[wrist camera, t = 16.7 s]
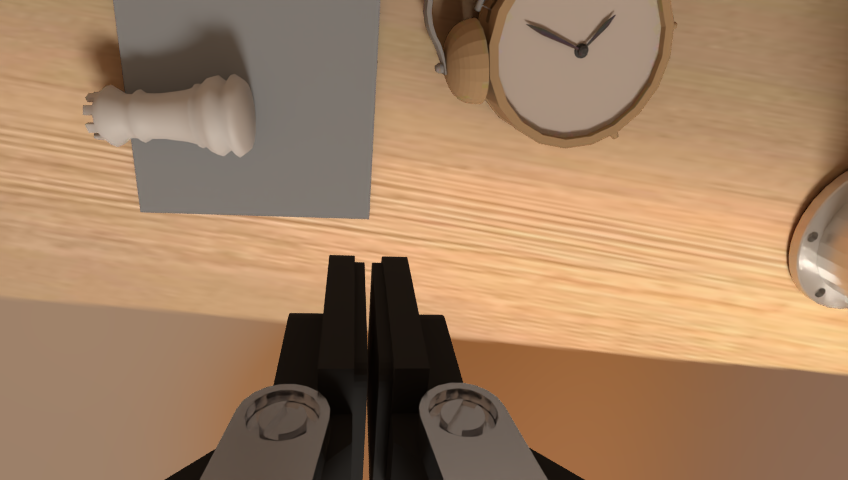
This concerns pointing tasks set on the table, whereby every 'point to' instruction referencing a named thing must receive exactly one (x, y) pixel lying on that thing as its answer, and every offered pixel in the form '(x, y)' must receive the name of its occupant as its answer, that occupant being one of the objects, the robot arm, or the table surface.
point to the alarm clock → (559, 63)
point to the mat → (260, 103)
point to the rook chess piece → (178, 115)
